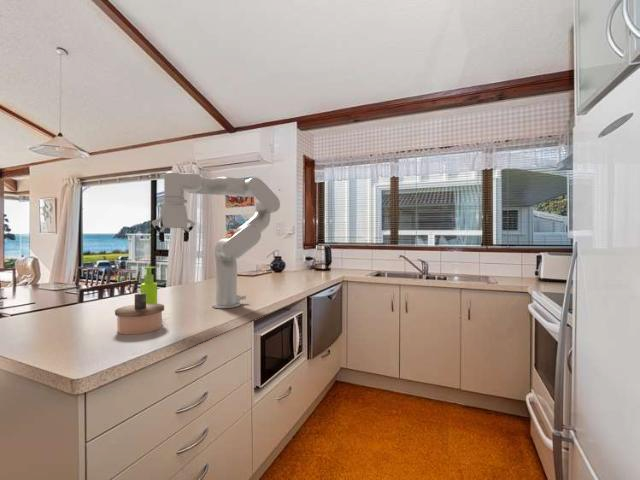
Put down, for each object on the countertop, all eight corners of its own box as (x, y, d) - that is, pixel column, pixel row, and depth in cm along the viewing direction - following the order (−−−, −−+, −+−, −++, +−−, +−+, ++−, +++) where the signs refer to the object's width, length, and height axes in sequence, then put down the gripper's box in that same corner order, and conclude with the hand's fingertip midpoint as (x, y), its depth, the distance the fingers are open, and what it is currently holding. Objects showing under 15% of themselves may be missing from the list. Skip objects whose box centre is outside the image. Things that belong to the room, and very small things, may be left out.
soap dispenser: (161, 313, 130) (161, 266, 129) (151, 317, 123) (151, 267, 123) (148, 312, 130) (148, 265, 130) (137, 317, 123) (137, 267, 123)
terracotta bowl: (154, 321, 117) (154, 305, 117) (166, 328, 108) (166, 311, 108) (114, 328, 108) (114, 311, 108) (123, 337, 99) (123, 318, 99)
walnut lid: (159, 304, 119) (159, 288, 119) (168, 312, 107) (168, 294, 107) (112, 310, 109) (112, 293, 109) (117, 319, 98) (117, 300, 97)
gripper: (191, 203, 140) (191, 241, 140) (149, 200, 128) (149, 241, 128) (197, 202, 134) (197, 241, 134) (154, 199, 122) (154, 242, 122)
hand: (174, 241), depth 131 cm, fingers open, 9 cm apart
